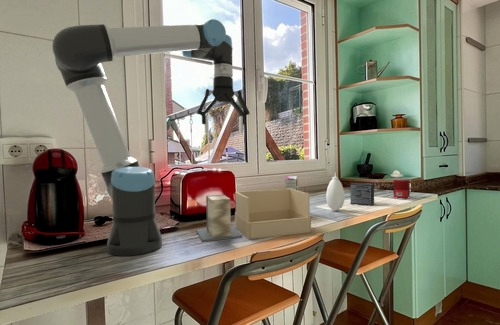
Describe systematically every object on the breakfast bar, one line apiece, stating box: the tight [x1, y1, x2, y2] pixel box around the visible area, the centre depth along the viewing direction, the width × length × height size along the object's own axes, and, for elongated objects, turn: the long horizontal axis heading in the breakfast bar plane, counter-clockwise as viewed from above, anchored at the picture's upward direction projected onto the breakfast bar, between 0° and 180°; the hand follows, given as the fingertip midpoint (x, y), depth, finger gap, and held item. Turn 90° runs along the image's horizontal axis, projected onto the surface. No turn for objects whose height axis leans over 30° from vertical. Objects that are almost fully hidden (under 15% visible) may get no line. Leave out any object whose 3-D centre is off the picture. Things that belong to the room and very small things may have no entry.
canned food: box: [393, 177, 411, 199], centre depth 168 cm, size 8×8×11 cm
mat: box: [196, 225, 243, 243], centre depth 101 cm, size 13×13×1 cm
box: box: [205, 194, 232, 238], centre depth 100 cm, size 6×10×12 cm, turn 18°
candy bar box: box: [285, 175, 299, 191], centre depth 128 cm, size 11×5×16 cm, turn 168°
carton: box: [234, 188, 312, 240], centre depth 106 cm, size 23×16×13 cm
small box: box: [350, 182, 375, 206], centre depth 151 cm, size 11×6×10 cm, turn 57°
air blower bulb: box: [325, 171, 346, 212], centre depth 136 cm, size 8×8×18 cm
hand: (224, 133), depth 116 cm, fingers open, 13 cm apart
